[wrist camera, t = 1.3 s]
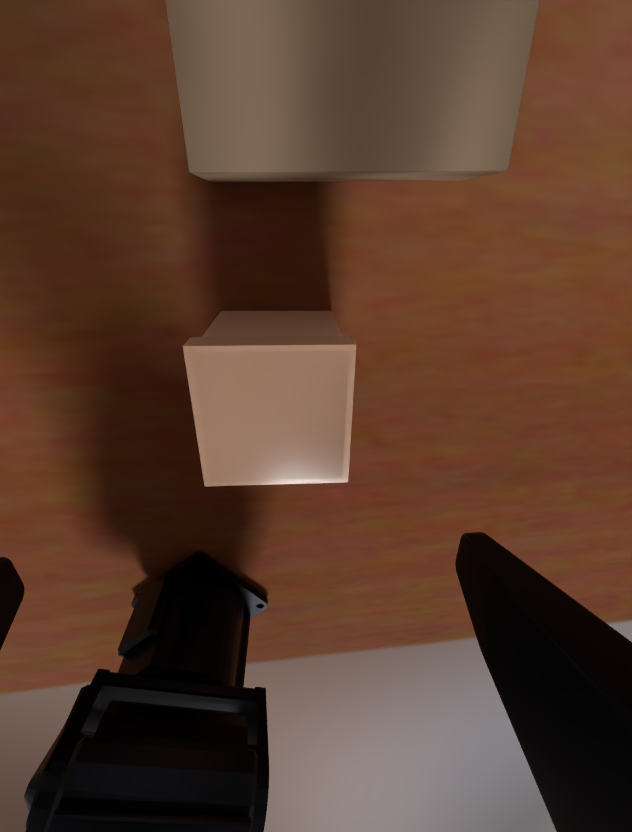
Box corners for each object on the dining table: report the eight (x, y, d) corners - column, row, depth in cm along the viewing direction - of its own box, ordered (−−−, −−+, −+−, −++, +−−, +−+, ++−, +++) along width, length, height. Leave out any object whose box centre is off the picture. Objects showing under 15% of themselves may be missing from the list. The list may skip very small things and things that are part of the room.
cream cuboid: (335, 306, 17) (356, 344, 12) (332, 411, 20) (347, 482, 15) (216, 306, 17) (182, 346, 12) (227, 413, 20) (204, 486, 14)
